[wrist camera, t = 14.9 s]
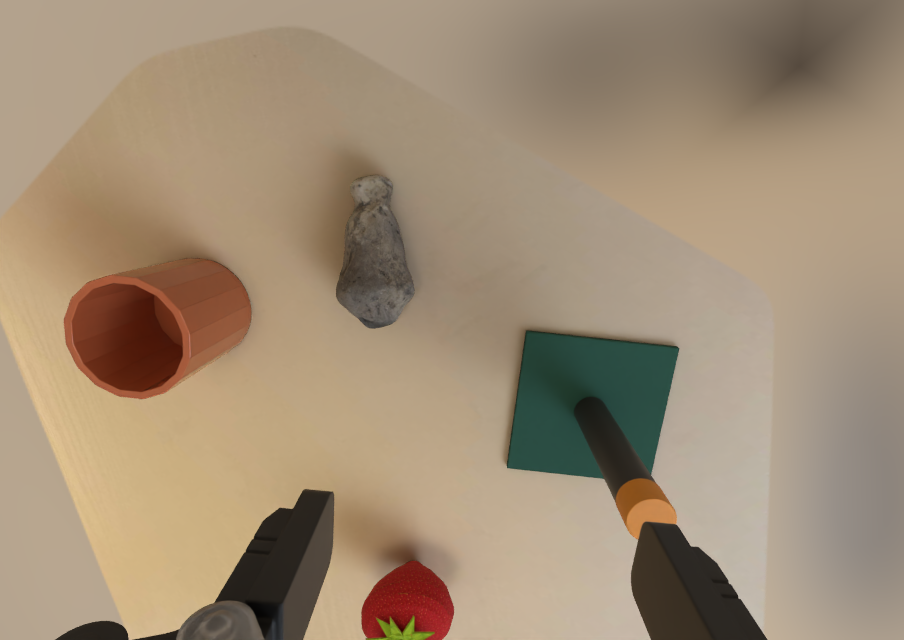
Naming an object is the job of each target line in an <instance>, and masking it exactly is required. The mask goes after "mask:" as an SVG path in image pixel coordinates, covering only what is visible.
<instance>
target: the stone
mask: <svg viewBox="0 0 904 640" xmlns="http://www.w3.org/2000/svg"><path fill="white" fill-rule="evenodd" d="M392 189H393V184H392V182H391V181H390V180H389V179H388V178H386V177H384V176H381V175H371V176H366V177H361V178H358V179H356V180H355V181H353V183H352V184H351V186H350V192H351V194H352V197H353V199H354V202H355V209H354V211H353V213H352V214H351V216H350V218H349V220H348V222H347V225H346V230H345V252H344V261H343V267H342V270H341V273H340V277H339V281H338V283H337V288H336V297H337V300H338V301H339V302H340V304H341V305H342V306H344V307H345V308H346V309H347V310H348V311H349V312H350V313H351V314H353V315H354V316H355V317H357V318H358V319H359V320H360V321H361V322H362V323H363V324H364V325H365V326H366V327H368V328H373V329H374V328H380V327H384V326H387V325H390V324H392V323H393V322H395V321H396V320H397V319H398V317H399V316H400V314H401V312H402V310H403V308H404V306H405V305H406V304H407V303H408V302H409V301H410V300H411V299H412V297H413V295H414V291H415V290H414V284H413V280H412V277H411V274H410V272H409V270H408V268H407V264H406V260H405V252H404V246H403V242H402V238H401V234H400V230H399V226H398V223H397V221H396V218H395V216H394V214H393V213H392V211H391V208H390V199H391V195H392Z"/></svg>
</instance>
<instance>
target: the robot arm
mask: <svg viewBox="0 0 904 640" xmlns="http://www.w3.org/2000/svg"><path fill="white" fill-rule="evenodd" d="M333 526H334V493H333V492H329V491H318V490H307V489H304V490H303V492H302V493H301V495H300V497H299V499H298V501H297V503H296V505H295V506H294V508H293V509H286V508H279V509H278V510H276V511H275V512H274V513H273V514H271V515H270V516H269V517H267V518H266V519H265V520H264V521H263V522H262V524H261V526H260V527H259V529H258V531H257V532H256V534H255V536H254V539H252V541H251V542H250V544H249V546H248V547H247V549H246V553H244V554H243V556H242V557H241V559H240V561H239V562H238V564H237V566H236V567H235V569H234V571H233V572H232V574H231V576H230V577H229V579H228V581H227V582H226V584H225V586H224V587H223V589H222V591H221V592H220V594H219V596H218V597H217V599H216V601H215V602H214V603H213V604H210V605H207V606H205V607H203V608H201V609H200V610H198V611H196V612H195V613H194V614H192V615H191V616H190V617H189V618H188V619H187V620H186V621H185V622H184V624H183V625H182V626H181V628H180V629H179V630H176V631H173V632H170V633H166V634H161V635H156V636H150V637H145V638H140V639H134V640H303V638H304V635H305V632H306V630H307V627H308V624H309V621H310V618H311V616H312V613H313V610H314V607H315V604H316V602H317V599H318V596H319V593H320V590H321V587H322V585H323V582H324V579H325V576H326V573H327V571H328V568H329V564H330V560H331V555H332V548H333ZM631 586H632V592H633V596H634V599H635V601H636V604H637V606H638V609H639V611H640V614H641V616H642V618H643V621H644V623H645V626H646V628H647V631H648V633H649V636H650V638H651V640H767V638H766V637H765V635H764V634H763V632H762V631H761V629H760V628H759V626H758V625H757V623H756V622H755V620H754V619H753V617H752V616H751V614H750V613H749V611H748V610H747V608H746V607H745V605H744V604H743V602H742V601H741V599H738V595H737V593H736V592H735V590H734V589H733V587H732V586H731V584H729V583H728V579H727V578H726V576H725V575H724V573H723V572H722V570H721V569H720V567H719V566H718V564H717V563H716V562H715V561H714V560H712V559H711V558H710V557H709V556H708V555H707V554H706V553H704V552H703V551H702V550H701V549H700V548H699V547H691V546H690V545H689V543H688V541H687V540H686V538H685V536H684V535H683V533H682V532H681V530H680V528H679V527H678V526H677V525H676V524H669V523H658V522H647V521H646V522H644V523H643V524H642V527H641V530H640V535H639V539H638V544H637V548H636V553H635V557H634V562H633V566H632V571H631ZM56 640H128V633H127V631H126V629H125V628H124V627H123V626H122V625H120V624H118V623H115V622H110V621H99V622H92V623H88V624H85V625H82V626H79V627H77V628H75V629H72V630H70V631H68V632H67V633H65V634H63V635H62V636H60V637H59V638H57V639H56Z"/></svg>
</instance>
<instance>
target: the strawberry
mask: <svg viewBox="0 0 904 640" xmlns="http://www.w3.org/2000/svg"><path fill="white" fill-rule="evenodd" d="M453 615H454V606H453V603H452V600H451V598H450V595H449V592H448V589H447V587H446V585H445V584H444V582H443V581H442V580H441V579H440V578H439V577H438V576H436V575H435V574H434V573H433V572H432V571H431V570H430V569H428V568H427V567H425V566H423V565H422V564H421V563H420V562H418V561H409V562H407V563H406V564H404V565H402V566H400V567H398V568H396V569H394V570H393V571H392V572H390V573H389V574H388V575H386V576H385V577H384V578H382V579H381V580H380V581H379V582H378V583H377V584H376V585H375V586H374V588H373V589H372V591H371V592H370V594H369V596H368V597H367V599H366V600H365V602H364V604H363V607H362V630H363V632H364V634H365V636H366V637H367V638H366V640H442V639H443V638H444V637H445V636H446V635H447V633H448V631H449V629H450V626H451V622H452V619H453Z"/></svg>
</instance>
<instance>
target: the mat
mask: <svg viewBox="0 0 904 640" xmlns="http://www.w3.org/2000/svg"><path fill="white" fill-rule="evenodd" d="M678 352H679V348H678V347H676V346H667V345H658V344H648V343H639V342H629V341H620V340H611V339H601V338H592V337H582V336H573V335H564V334H554V333H545V332H536V331H526V335H525V342H524V349H523V356H522V363H521V370H520V377H519V384H518V391H517V398H516V405H515V412H514V419H513V426H512V433H511V440H510V447H509V454H508V461H507V468H511V469H521V470H530V471H539V472H548V473H557V474H566V475H575V476H584V477H594V478H603V479H604V477H603V475H602V473H601V470H600V468H599V466H598V464H597V462H596V460H595V458H594V456H593V454H592V452H591V449H590V447H589V445H588V443H587V441H586V439H585V437H584V435H583V433H582V431H581V428H580V426H579V424H578V422H577V420H576V418H575V415H574V410H575V407H576V405H577V403H578V402H579V401H580V400H582V399H584V398H586V397H596V398H599V399H600V400H602V401H603V402H604V404H605V405H606V407H607V408H608V410H609V411H610V413H611V414H612V416H613V417H614V419H615V421H616V422H617V424H618V425H619V427H620V428H621V430H622V431H623V433H624V434H625V436H626V437H627V439H628V441H629V442H630V444H631V445H632V447H633V448H634V450H635V451H636V453H637V454H638V456H639V458H640V459H641V461H642V462H643V464H644V465H645V467H646V468H647V470H648V471H649V473H650V474H651V472H652V468H653V463H654V459H655V454H656V450H657V445H658V441H659V437H660V432H661V428H662V423H663V419H664V414H665V410H666V405H667V401H668V396H669V392H670V387H671V383H672V378H673V374H674V369H675V365H676V360H677V356H678Z"/></svg>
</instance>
